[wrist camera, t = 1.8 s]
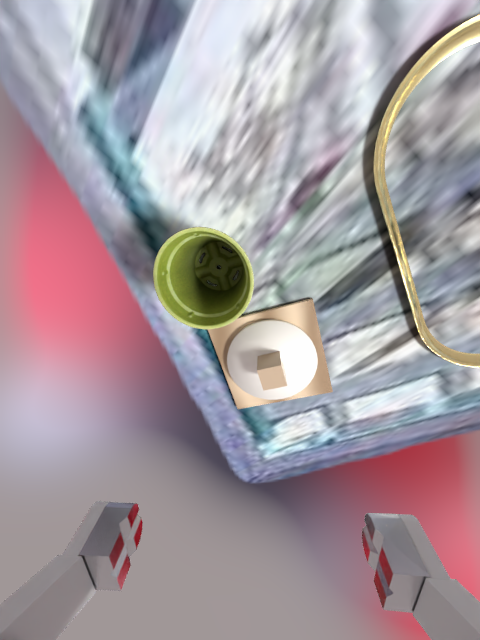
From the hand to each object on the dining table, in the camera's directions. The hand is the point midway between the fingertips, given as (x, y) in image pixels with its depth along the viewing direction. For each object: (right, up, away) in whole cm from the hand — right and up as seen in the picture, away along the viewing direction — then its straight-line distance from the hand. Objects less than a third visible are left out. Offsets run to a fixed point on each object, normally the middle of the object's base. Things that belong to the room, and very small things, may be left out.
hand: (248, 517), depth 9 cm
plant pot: (-3, +14, +22) cm, 26 cm away
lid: (+4, +2, +25) cm, 26 cm away
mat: (+4, +2, +26) cm, 26 cm away
